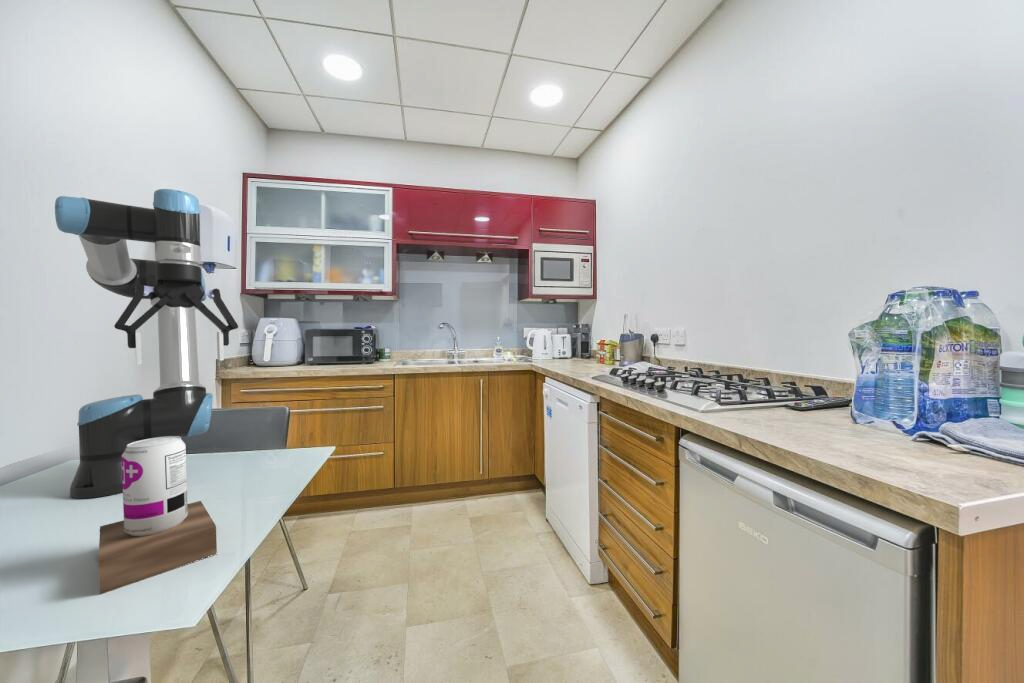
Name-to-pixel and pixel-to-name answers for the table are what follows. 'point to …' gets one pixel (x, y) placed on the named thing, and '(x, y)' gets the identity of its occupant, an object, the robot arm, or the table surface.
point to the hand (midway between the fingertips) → (182, 362)
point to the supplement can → (154, 485)
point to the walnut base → (153, 549)
